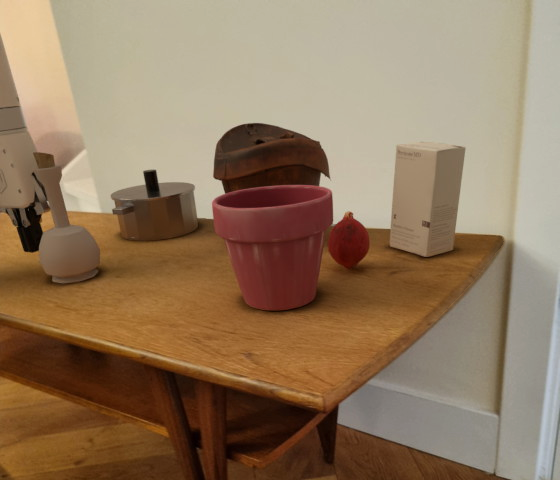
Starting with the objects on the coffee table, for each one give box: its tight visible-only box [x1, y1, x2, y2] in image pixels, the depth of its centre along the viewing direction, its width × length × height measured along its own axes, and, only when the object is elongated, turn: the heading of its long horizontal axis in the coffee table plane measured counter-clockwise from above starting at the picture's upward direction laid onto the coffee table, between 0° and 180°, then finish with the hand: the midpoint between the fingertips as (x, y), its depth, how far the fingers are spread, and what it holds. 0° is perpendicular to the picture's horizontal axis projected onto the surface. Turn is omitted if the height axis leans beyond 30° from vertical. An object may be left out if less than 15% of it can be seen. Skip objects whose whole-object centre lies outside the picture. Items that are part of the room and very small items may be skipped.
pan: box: [111, 190, 199, 242], centre depth 105 cm, size 15×20×7 cm
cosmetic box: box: [389, 141, 466, 258], centre depth 80 cm, size 8×6×15 cm
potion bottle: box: [33, 151, 101, 284], centre depth 80 cm, size 9×9×18 cm
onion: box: [327, 210, 371, 270], centre depth 76 cm, size 6×6×8 cm
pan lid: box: [110, 169, 196, 202], centre depth 102 cm, size 16×16×5 cm
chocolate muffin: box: [212, 122, 332, 194], centre depth 90 cm, size 18×20×18 cm
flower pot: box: [211, 185, 334, 311], centre depth 67 cm, size 14×14×13 cm
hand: (35, 249), depth 87 cm, fingers closed
